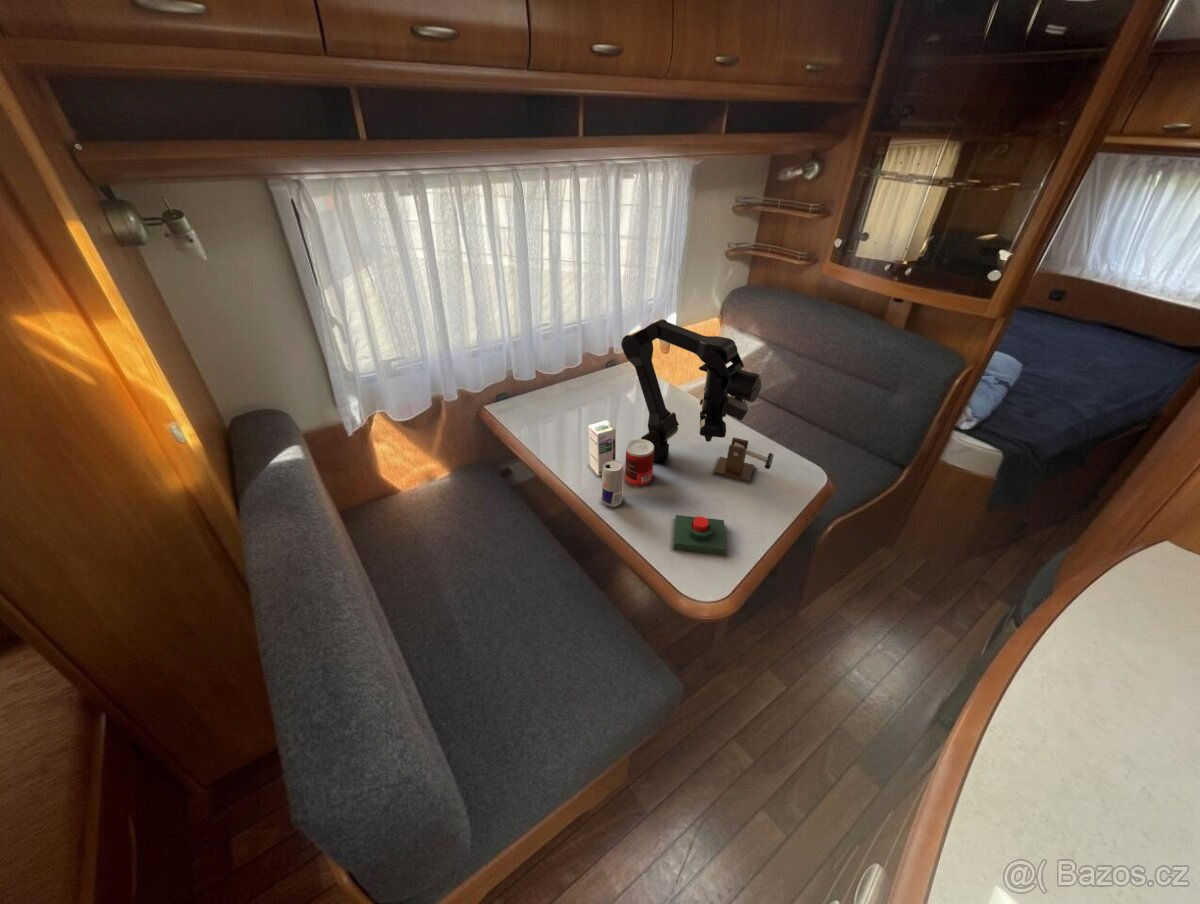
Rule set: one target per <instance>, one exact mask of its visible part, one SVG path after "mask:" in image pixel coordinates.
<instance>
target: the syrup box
mask: <svg viewBox="0 0 1200 904" xmlns="http://www.w3.org/2000/svg"><path fill="white" fill-rule="evenodd" d="M616 432H617V430H616V428H615V427H614V426H613V425H612V424H611V423H610V421H608V420H603V421H601V422H600V421H599V422H597V423H593V424H589V425H588V446H589V448H588V449H589V466H590V468H591V469H592V471H594V472H595V474H596V475H597V476H598V477H600V476H602V467H603V464H604V462H606V461H608V460H617V459H616V455H617V454H616V453H617V452H616V450H617V448H616V446H617V445H616V443H617V442H616V439H617V438H616V437H617V434H616Z"/></svg>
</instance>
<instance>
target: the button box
mask: <svg viewBox="0 0 1200 904" xmlns="http://www.w3.org/2000/svg"><path fill="white" fill-rule="evenodd" d="M696 517H697V516H691V515H681V514H675V517H674V518H675V519H674V528H673V529H674V530H673V546H672V547H673V548H672V550H676V551H684V552H690V553H691V552H692V553H699V554H708V555H714V556H715V555H716V556H725V555H726V548H727V547H726V529H725V520H724V519H718V518H709V517H704V516H703V517H704V518H706V519H707V520H708V521H709V525H708V530H707V531H705V532H698V531H696V530H695V529H694V528H693V521H694V519H695V518H696Z"/></svg>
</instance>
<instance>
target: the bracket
mask: <svg viewBox="0 0 1200 904" xmlns="http://www.w3.org/2000/svg"><path fill="white" fill-rule="evenodd" d="M735 442H738V443H740V444H743V445H745V447H739V446H735V445H734V444H735ZM749 442H750V441H749V440H748V439H743V438H738V437H732V439H731V444H729V446H728V451H727V457H724V456H719V459H718V461H717V463H716V466H715V468H714V469H713V475H717V476H720V477H724V478H727V479H732V480H736V481H738V482H739V481H740V482H744V483H750V480H751V477H752V473H753V471H754V467H755V464H753V463H748V462H745V461H746V456H747V455H746V454H745V451H746V449H747V450H748V445H749Z"/></svg>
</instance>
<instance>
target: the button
mask: <svg viewBox="0 0 1200 904" xmlns="http://www.w3.org/2000/svg"><path fill="white" fill-rule="evenodd" d="M695 517H696V518H695V519H694V521H693V528H694V529H695V530H696V531H698V532H705V531H707V530H708V525H709V521H708V520H707V519H706V518H707V517H705V518H704V516H695Z"/></svg>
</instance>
